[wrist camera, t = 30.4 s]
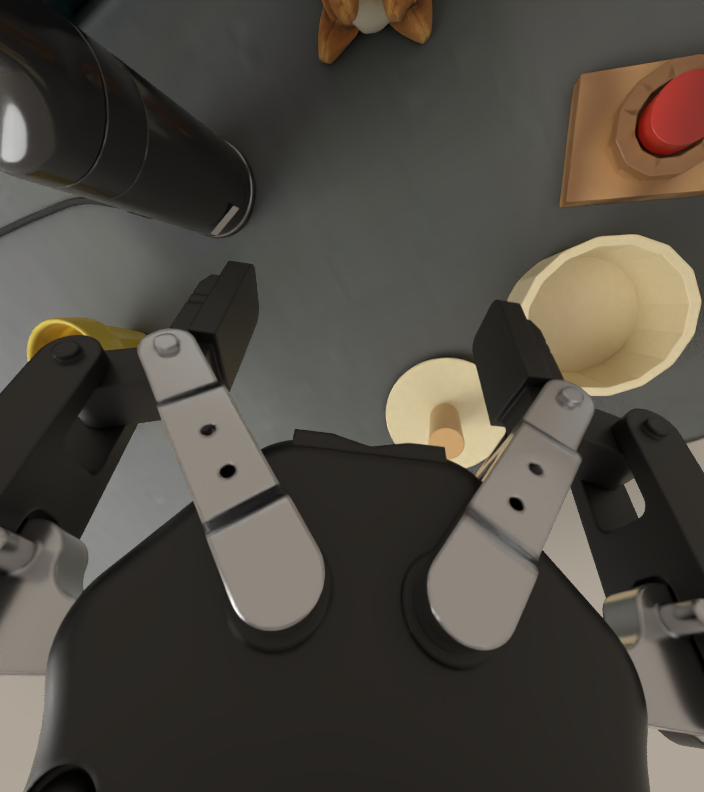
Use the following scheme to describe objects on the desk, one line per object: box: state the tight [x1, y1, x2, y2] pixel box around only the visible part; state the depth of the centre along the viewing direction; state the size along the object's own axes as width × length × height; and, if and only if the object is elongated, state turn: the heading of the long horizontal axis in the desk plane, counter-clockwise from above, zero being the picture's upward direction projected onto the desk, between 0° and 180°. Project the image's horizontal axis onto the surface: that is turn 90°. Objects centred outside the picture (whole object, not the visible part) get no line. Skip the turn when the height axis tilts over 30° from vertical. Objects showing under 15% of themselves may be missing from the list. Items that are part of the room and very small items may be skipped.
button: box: [638, 68, 704, 155], centre depth 24 cm, size 4×4×2 cm
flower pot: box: [27, 318, 147, 362], centre depth 40 cm, size 10×10×10 cm
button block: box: [559, 54, 704, 208], centre depth 26 cm, size 12×9×4 cm
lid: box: [386, 357, 506, 468], centre depth 33 cm, size 13×13×9 cm
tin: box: [507, 234, 702, 396], centre depth 29 cm, size 12×12×7 cm
